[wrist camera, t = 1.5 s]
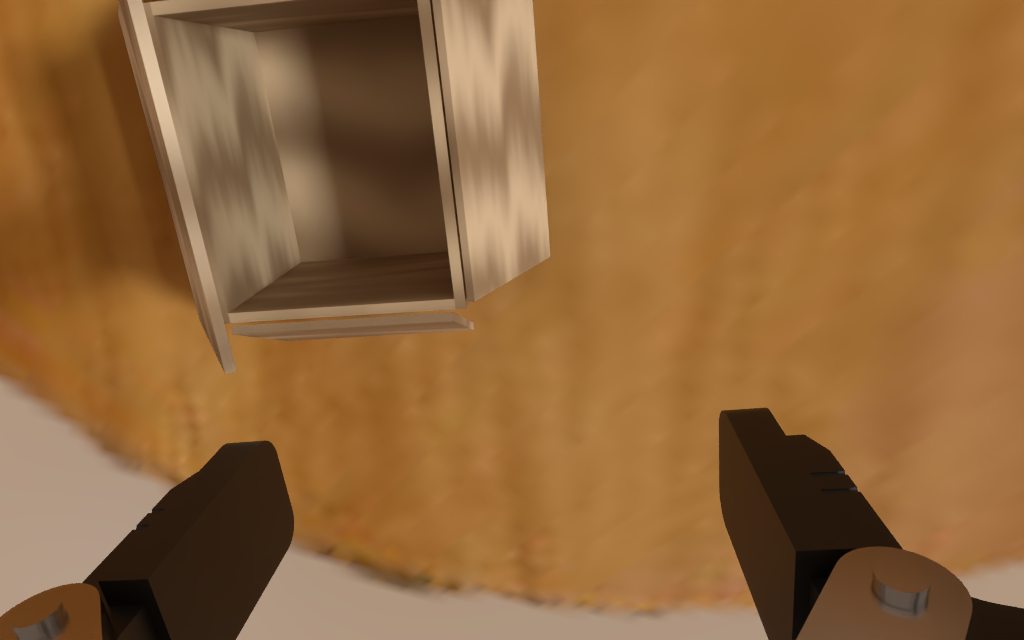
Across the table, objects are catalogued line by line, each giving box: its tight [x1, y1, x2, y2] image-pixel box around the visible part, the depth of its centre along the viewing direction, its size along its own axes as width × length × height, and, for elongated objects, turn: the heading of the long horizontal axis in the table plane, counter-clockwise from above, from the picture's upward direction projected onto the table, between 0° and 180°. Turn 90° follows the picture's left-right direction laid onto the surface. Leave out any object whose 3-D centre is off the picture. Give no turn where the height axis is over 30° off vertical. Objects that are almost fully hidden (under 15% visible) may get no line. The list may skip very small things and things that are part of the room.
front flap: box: [118, 0, 236, 374], centre depth 25 cm, size 13×1×8 cm
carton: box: [143, 0, 550, 341], centre depth 33 cm, size 20×16×10 cm
